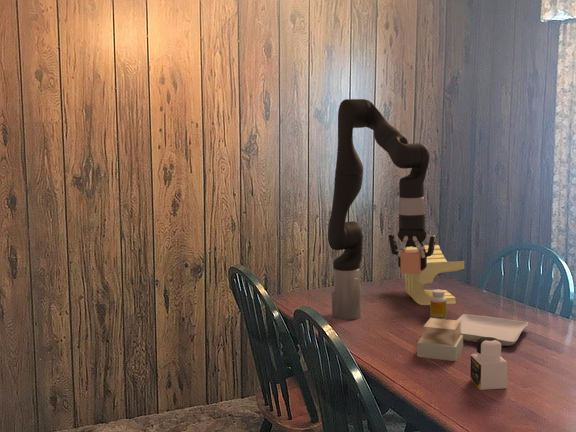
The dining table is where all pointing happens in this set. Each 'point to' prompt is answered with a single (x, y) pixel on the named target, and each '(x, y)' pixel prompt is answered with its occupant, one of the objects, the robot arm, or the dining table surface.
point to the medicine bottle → (488, 365)
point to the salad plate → (491, 328)
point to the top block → (442, 331)
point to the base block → (439, 350)
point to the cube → (411, 262)
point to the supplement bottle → (438, 304)
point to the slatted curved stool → (430, 276)
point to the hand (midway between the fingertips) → (412, 269)
